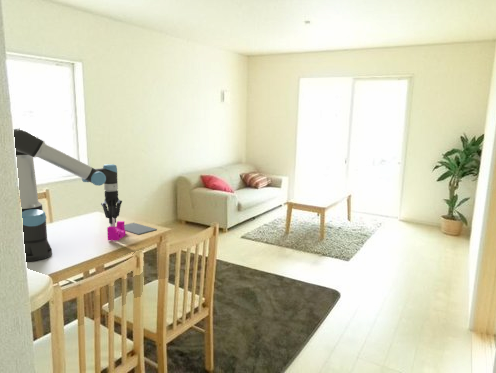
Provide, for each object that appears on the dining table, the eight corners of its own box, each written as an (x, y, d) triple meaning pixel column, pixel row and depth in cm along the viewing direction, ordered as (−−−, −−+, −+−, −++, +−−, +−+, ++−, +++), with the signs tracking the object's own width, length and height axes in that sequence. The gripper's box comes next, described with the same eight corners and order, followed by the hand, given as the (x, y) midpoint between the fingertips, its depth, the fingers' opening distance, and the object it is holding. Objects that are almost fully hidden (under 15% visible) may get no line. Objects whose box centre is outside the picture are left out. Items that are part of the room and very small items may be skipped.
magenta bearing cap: (118, 240, 210) (117, 228, 209) (107, 240, 210) (107, 227, 209) (128, 233, 225) (128, 221, 224) (118, 232, 225) (118, 221, 224)
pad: (138, 234, 221) (138, 233, 221) (115, 227, 236) (115, 226, 236) (156, 230, 232) (156, 229, 232) (133, 223, 247) (133, 222, 247)
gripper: (104, 192, 209) (106, 232, 213) (124, 189, 220) (126, 227, 223) (97, 190, 214) (99, 229, 218) (117, 188, 224) (118, 225, 228)
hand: (112, 228), depth 221 cm, fingers closed
